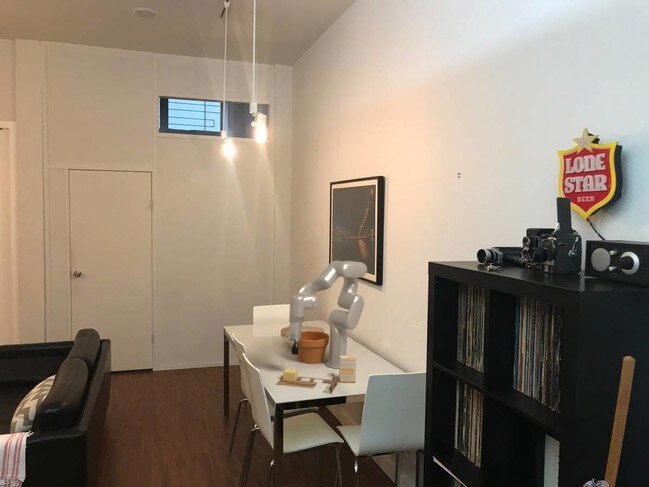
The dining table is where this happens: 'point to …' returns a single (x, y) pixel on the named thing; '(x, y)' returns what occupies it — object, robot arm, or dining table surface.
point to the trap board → (310, 383)
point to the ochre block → (290, 374)
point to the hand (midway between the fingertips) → (294, 354)
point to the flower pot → (312, 347)
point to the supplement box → (347, 368)
